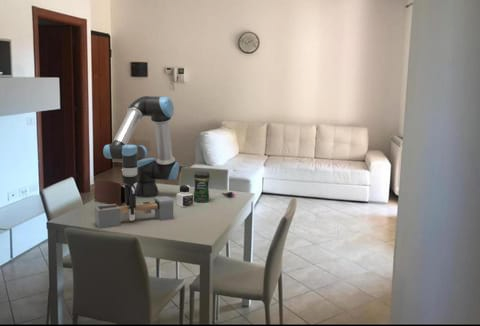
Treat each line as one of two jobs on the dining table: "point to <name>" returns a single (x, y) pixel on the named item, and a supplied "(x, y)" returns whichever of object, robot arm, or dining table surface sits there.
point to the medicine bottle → (184, 197)
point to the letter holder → (109, 192)
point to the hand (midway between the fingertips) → (130, 218)
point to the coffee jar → (201, 186)
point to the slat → (138, 207)
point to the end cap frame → (113, 215)
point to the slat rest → (147, 210)
